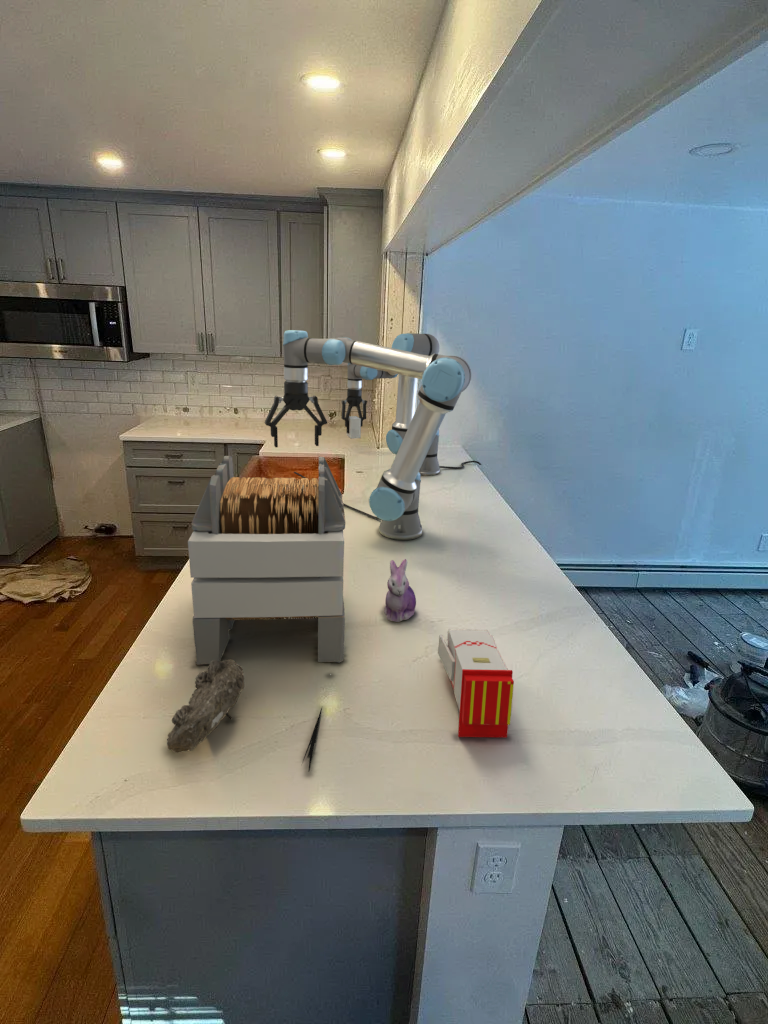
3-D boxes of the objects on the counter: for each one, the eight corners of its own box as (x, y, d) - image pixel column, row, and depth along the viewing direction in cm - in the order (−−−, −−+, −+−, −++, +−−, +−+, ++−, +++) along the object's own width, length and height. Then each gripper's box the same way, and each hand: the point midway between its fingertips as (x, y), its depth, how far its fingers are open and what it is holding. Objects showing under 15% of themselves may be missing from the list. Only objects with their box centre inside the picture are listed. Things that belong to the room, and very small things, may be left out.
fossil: (192, 660, 117) (244, 628, 112) (224, 691, 120) (276, 661, 115) (142, 746, 98) (202, 712, 93) (182, 779, 101) (242, 748, 96)
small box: (360, 438, 299) (361, 418, 296) (350, 438, 298) (350, 418, 294) (356, 435, 306) (356, 416, 303) (346, 435, 305) (346, 416, 301)
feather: (331, 679, 122) (336, 673, 122) (307, 777, 96) (313, 769, 95) (324, 675, 122) (329, 669, 121) (298, 772, 95) (304, 764, 95)
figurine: (392, 627, 141) (395, 572, 136) (374, 608, 149) (376, 556, 144) (425, 619, 145) (429, 566, 140) (405, 601, 154) (408, 550, 149)
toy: (488, 613, 130) (523, 677, 101) (484, 667, 133) (517, 744, 104) (435, 612, 130) (455, 676, 101) (432, 666, 133) (451, 743, 103)
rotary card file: (219, 592, 154) (209, 445, 140) (339, 591, 158) (342, 448, 144) (193, 667, 122) (178, 487, 108) (344, 663, 126) (348, 488, 112)
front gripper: (331, 379, 189) (330, 442, 196) (254, 379, 181) (257, 444, 188) (336, 382, 182) (335, 447, 189) (257, 382, 174) (259, 449, 181)
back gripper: (369, 387, 300) (368, 430, 307) (335, 387, 294) (334, 431, 302) (373, 389, 293) (372, 433, 301) (338, 389, 287) (338, 434, 295)
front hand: (296, 445), depth 189 cm, fingers open, 13 cm apart
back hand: (353, 432), depth 301 cm, fingers closed on small box, 6 cm apart
